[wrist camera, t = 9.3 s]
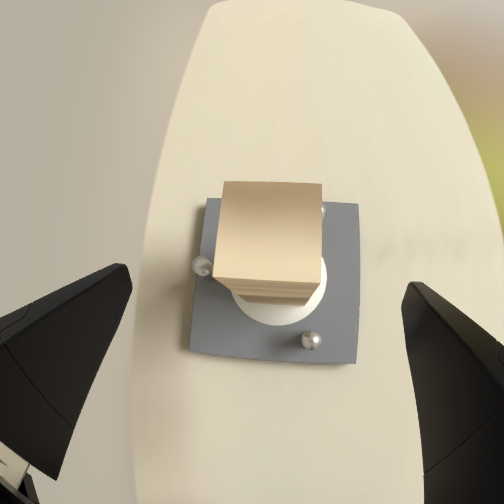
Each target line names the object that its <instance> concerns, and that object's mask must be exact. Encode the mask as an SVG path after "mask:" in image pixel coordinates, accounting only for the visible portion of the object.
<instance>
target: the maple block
mask: <svg viewBox="0 0 504 504" xmlns="http://www.w3.org/2000/svg"><path fill="white" fill-rule="evenodd" d="M321 261H322V184H312V183H289V182H246V181H224V186H223V194H222V201H221V209H220V217H219V224H218V233H217V241H216V249H215V258H214V267H213V276H212V277H213V278H215V279H216V280H217V281H219V282H220V283H222V284H223V285H224V286H226V287H227V288H228V289H230V290H231V291H232V292H234V293H235V294H237V295H238V296H239V297H241V298H242V299H244V300H245V301H246V302H248V303H261V304H277V305H295V306H305V305H306V303H307V302H308V301H309V299H310V298H311V296H312V295H313V293H314V292H315V291H316V289H317V288H318V286H319V285H320V283H321Z"/></svg>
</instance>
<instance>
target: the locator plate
mask: <svg viewBox="0 0 504 504" xmlns="http://www.w3.org/2000/svg"><path fill="white" fill-rule="evenodd" d="M221 201H222V198H207V203H206V210H205V216H204V223H203V230H202V237H201V245H200V252H199V256H198V257H196V258H195V259H194V260H193V261H192V269H193V271H194V272H195V273H197V276H196V285H195V294H194V303H193V312H192V322H191V333H190V344H189V351H190V352H197V353H204V354H211V355H219V356H228V357H237V358H246V359H257V360H269V361H284V362H302V363H334V364H356V357H357V344H358V328H359V306H360V231H359V208H358V204H352V203H337V202H322V261H321V283H320V285H319V286H318V288H317V289H316V291H315V292H314V293H313V295H312V296H311V298H310V299H309V301H308V302H307V303H306V305H305V306H295V305H277V304H261V303H248V302H246V301H245V300H244V299H242V298H241V297H239V296H238V295H237V294H235V293H234V292H232V291H231V290H230V289H228V288H227V287H226V286H224V285H223V284H222V283H220V282H219V281H217V280H216V279H215V278H213V277H212V276H213V267H214V258H215V249H216V241H217V233H218V224H219V217H220V209H221Z"/></svg>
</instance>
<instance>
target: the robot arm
mask: <svg viewBox="0 0 504 504" xmlns="http://www.w3.org/2000/svg"><path fill="white" fill-rule="evenodd" d="M131 292H132V282H131V278H130V275H129V271H128V268H127V266H126V265H125V264H119V263H114V264H112V265H110V266H108V267H105V268H103V269H101V270H99V271H97V272H94V273H92V274H90V275H88V276H86V277H84V278H81V279H79V280H77V281H75V282H73V283H71V284H69V285H67V286H65V287H62V288H60V289H58V290H56V291H54V292H52V293H50V294H48V295H46V296H44V297H42V298H40V299H38V300H36V301H34V302H33V303H30V304H28V305H26V306H24V307H22V308H20V309H18V310H16V311H14V312H12V313H9V314H7V315H5V316H3V317H1V318H0V504H40V503H39V500H38V497H37V494H36V491H35V487H34V484H33V480H32V477H31V475H29V474H28V473H27V470H28V468H29V466H30V464H31V465H32V466H34V467H35V468H37V469H38V470H40V471H41V472H43V473H44V474H46V475H47V476H49V477H50V478H52V479H54V480H55V481H56V480H57V478H58V476H59V473H60V469H61V466H62V463H63V460H64V457H65V454H66V451H67V448H68V445H69V443H70V440H71V437H72V434H73V431H74V430H73V429H74V428H75V426H76V423H77V420H78V418H79V415H80V413H81V410H82V408H83V405H84V403H85V400H86V398H87V395H88V393H89V390H90V388H91V385H92V383H93V381H94V379H95V376H96V374H97V372H98V370H99V367H100V365H101V363H102V361H103V358H104V356H105V354H106V352H107V350H108V348H109V346H110V343H111V341H112V339H113V337H114V335H115V333H116V331H117V329H118V326H119V324H120V321H121V318H122V316H123V313H124V310H125V308H126V305H127V302H128V300H129V297H130V295H131ZM401 311H402V318H403V326H404V333H405V342H406V350H407V356H408V361H409V366H410V371H411V376H412V381H413V387H414V393H415V399H416V405H417V412H418V419H419V427H420V436H421V445H422V457H423V472H424V504H504V346H503V345H502V344H501V343H500V342H499V341H497V340H496V339H495V338H494V337H493V336H491V335H490V334H489V333H488V332H487V331H485V330H484V329H483V328H482V327H480V326H479V325H478V324H477V323H475V322H474V321H473V320H472V319H470V318H469V317H468V316H467V315H465V314H464V313H463V312H461V311H460V310H459V309H458V308H456V307H455V306H454V305H452V304H451V303H450V302H448V301H447V300H446V299H444V298H443V297H442V296H440V295H439V294H438V293H436V292H435V291H434V290H432V289H431V288H429V287H428V286H427V285H425V284H424V283H422V282H410V283H409V284H408V286H407V289H406V292H405V295H404V298H403V301H402V306H401Z"/></svg>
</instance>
